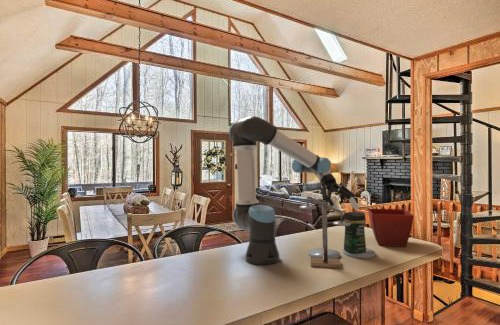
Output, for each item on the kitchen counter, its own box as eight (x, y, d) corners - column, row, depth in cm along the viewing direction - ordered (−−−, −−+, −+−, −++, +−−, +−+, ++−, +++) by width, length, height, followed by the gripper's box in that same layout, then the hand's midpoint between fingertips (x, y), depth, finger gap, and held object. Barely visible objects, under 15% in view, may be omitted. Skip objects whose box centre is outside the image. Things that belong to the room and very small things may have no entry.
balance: (300, 266, 116) (299, 196, 117) (300, 260, 123) (299, 195, 124) (352, 269, 112) (351, 197, 113) (350, 263, 119) (348, 195, 120)
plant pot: (372, 246, 143) (371, 213, 143) (368, 237, 161) (367, 208, 162) (414, 249, 138) (414, 215, 138) (405, 239, 156) (404, 209, 156)
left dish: (308, 259, 125) (308, 256, 125) (308, 250, 139) (308, 247, 139) (341, 260, 122) (341, 258, 122) (338, 251, 136) (338, 249, 136)
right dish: (344, 257, 127) (344, 254, 127) (341, 248, 140) (341, 246, 140) (378, 259, 124) (378, 256, 124) (371, 250, 137) (371, 247, 137)
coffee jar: (353, 255, 126) (352, 213, 126) (341, 250, 133) (340, 211, 134) (369, 252, 130) (368, 212, 130) (357, 248, 137) (356, 209, 137)
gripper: (339, 182, 160) (361, 212, 146) (304, 183, 148) (324, 216, 135) (346, 173, 155) (369, 203, 141) (311, 173, 144) (332, 206, 130)
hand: (347, 209), depth 138 cm, fingers open, 13 cm apart
